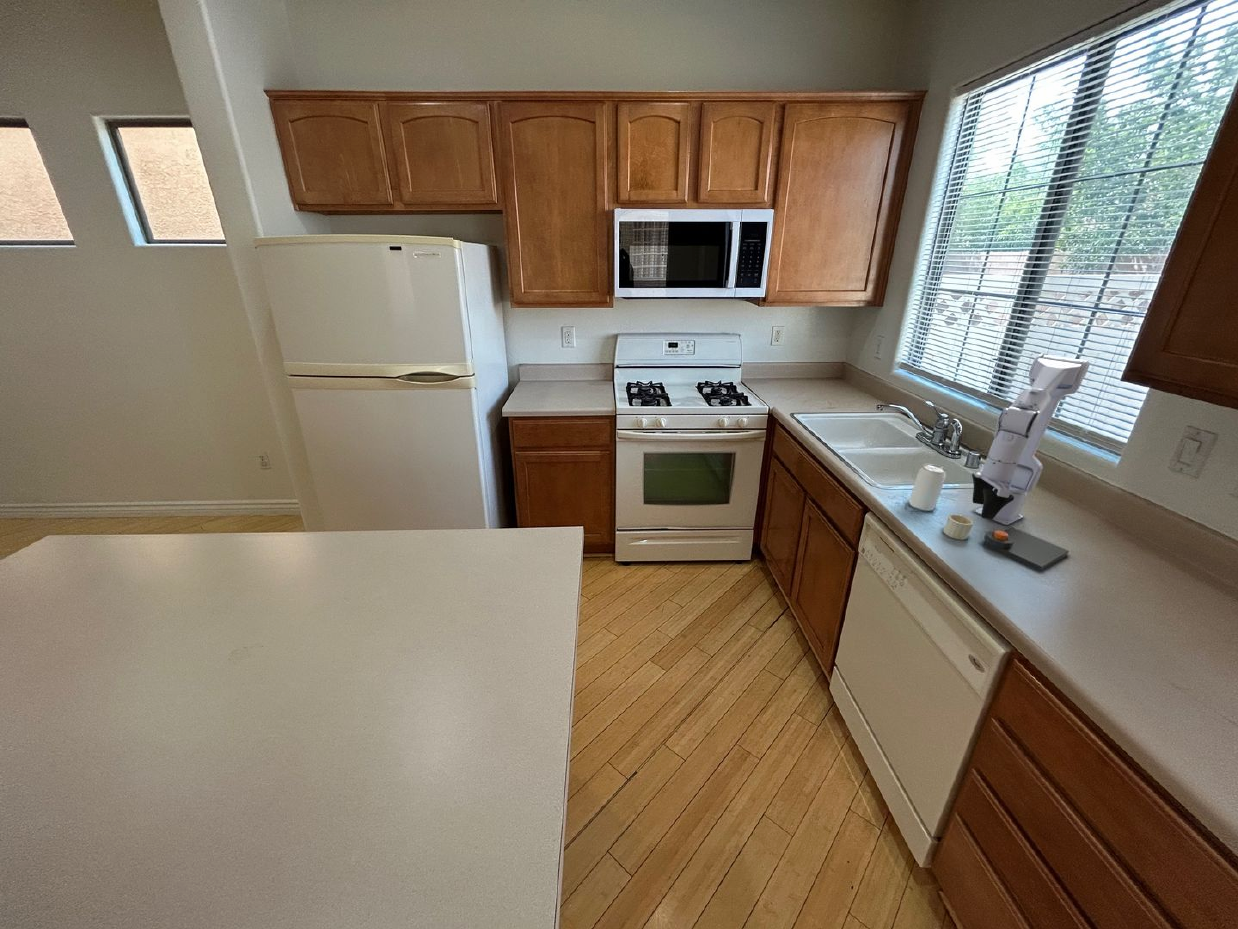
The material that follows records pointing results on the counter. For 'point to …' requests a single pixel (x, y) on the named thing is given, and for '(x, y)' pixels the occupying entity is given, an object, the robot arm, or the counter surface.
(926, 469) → the can
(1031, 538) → the scale
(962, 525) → the bowl
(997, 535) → the tare button
